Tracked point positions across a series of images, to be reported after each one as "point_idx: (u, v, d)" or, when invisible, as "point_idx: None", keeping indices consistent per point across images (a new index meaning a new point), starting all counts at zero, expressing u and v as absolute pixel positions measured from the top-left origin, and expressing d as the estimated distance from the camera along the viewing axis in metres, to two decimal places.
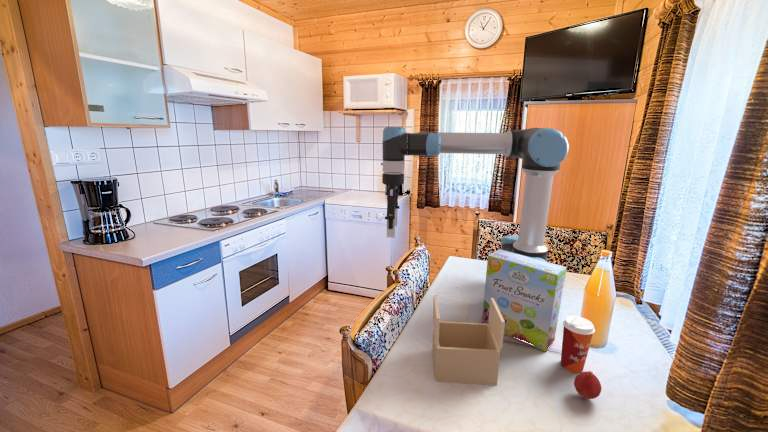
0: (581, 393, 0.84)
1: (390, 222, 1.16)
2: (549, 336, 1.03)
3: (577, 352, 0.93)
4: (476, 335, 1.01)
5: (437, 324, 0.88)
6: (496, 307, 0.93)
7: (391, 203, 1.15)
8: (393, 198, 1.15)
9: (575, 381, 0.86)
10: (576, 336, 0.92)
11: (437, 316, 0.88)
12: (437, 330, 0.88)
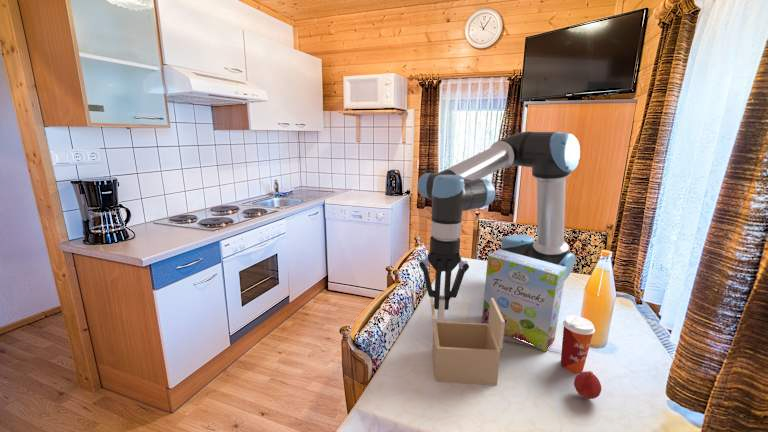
0: (581, 393, 0.84)
1: (434, 300, 0.93)
2: (549, 336, 1.03)
3: (577, 352, 0.93)
4: (476, 335, 1.01)
5: (434, 324, 0.88)
6: (496, 307, 0.93)
7: None
8: (423, 272, 0.90)
9: (575, 381, 0.86)
10: (576, 336, 0.92)
11: (433, 316, 0.88)
12: (435, 330, 0.88)
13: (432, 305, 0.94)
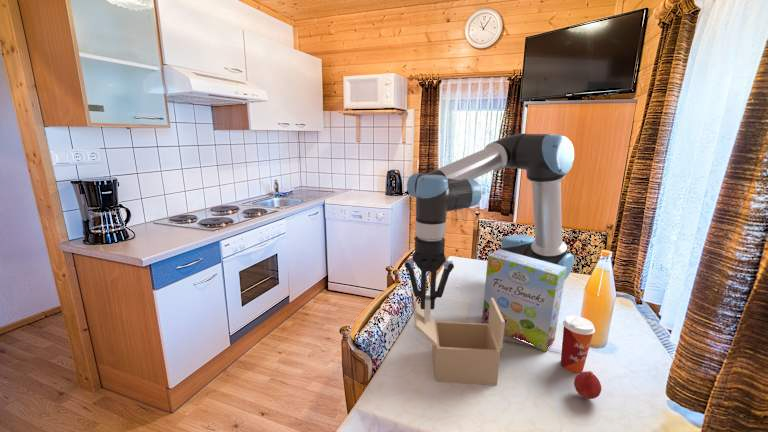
0: (581, 393, 0.84)
1: (420, 300, 0.93)
2: (549, 336, 1.03)
3: (577, 352, 0.93)
4: (476, 335, 1.01)
5: (419, 330, 0.89)
6: (496, 307, 0.93)
7: None
8: None
9: (575, 381, 0.86)
10: (576, 336, 0.92)
11: (414, 324, 0.89)
12: (424, 334, 0.89)
13: (415, 312, 0.95)
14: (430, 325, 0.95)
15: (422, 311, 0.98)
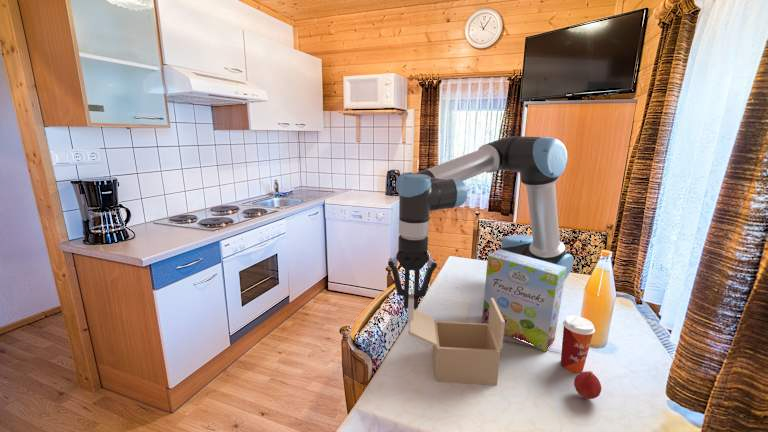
0: (581, 393, 0.84)
1: (404, 298, 0.93)
2: (549, 336, 1.03)
3: (577, 352, 0.93)
4: (476, 335, 1.01)
5: (415, 336, 0.89)
6: (496, 307, 0.93)
7: None
8: (392, 271, 0.91)
9: (575, 381, 0.86)
10: (576, 336, 0.92)
11: (409, 331, 0.90)
12: (421, 338, 0.89)
13: None
14: (428, 327, 0.95)
15: (418, 315, 0.99)
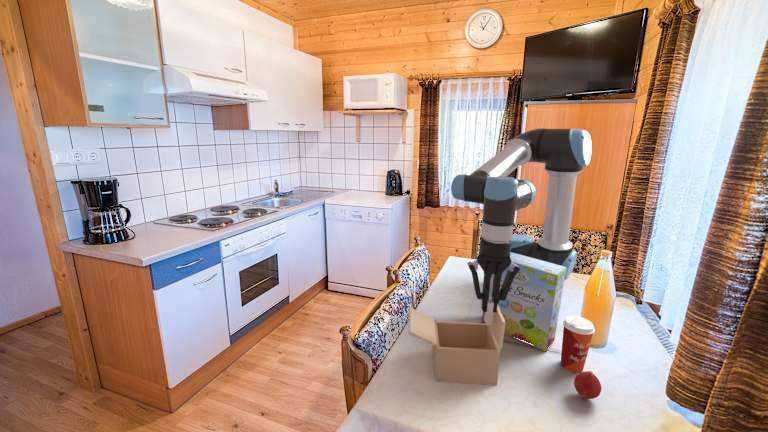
0: (581, 393, 0.84)
1: (482, 302, 0.92)
2: (549, 336, 1.03)
3: (577, 352, 0.93)
4: (476, 335, 1.01)
5: (415, 336, 0.89)
6: (497, 307, 0.93)
7: (473, 279, 0.91)
8: (472, 275, 0.89)
9: (575, 381, 0.86)
10: (576, 336, 0.92)
11: (409, 331, 0.90)
12: (421, 338, 0.89)
13: (409, 319, 0.95)
14: (428, 327, 0.95)
15: (418, 315, 0.99)
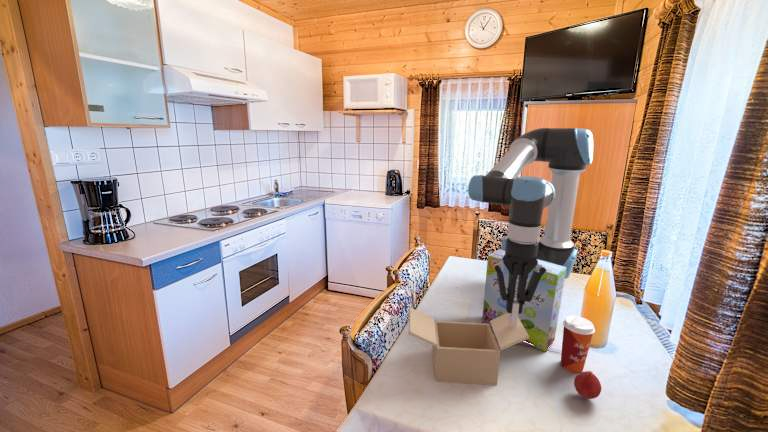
0: (581, 393, 0.84)
1: (507, 303, 0.92)
2: (549, 336, 1.03)
3: (577, 352, 0.93)
4: (476, 335, 1.01)
5: (415, 336, 0.89)
6: (520, 321, 0.93)
7: (498, 280, 0.90)
8: (498, 276, 0.89)
9: (575, 381, 0.86)
10: (576, 336, 0.92)
11: (409, 331, 0.90)
12: (421, 338, 0.89)
13: (409, 319, 0.95)
14: (428, 327, 0.95)
15: (418, 315, 0.99)
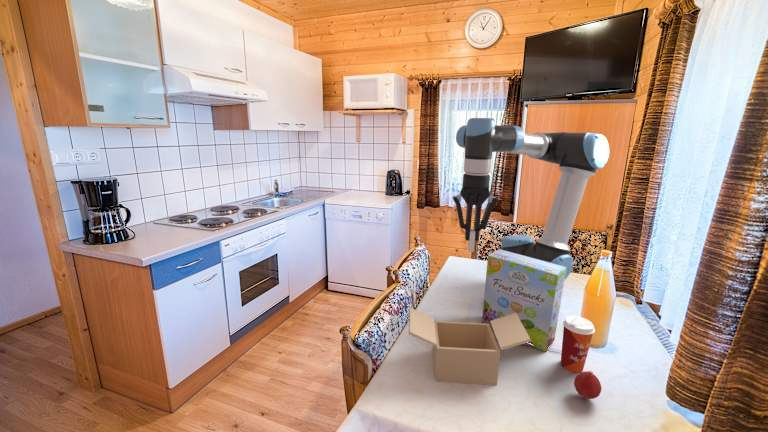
0: (581, 393, 0.84)
1: (465, 232, 1.05)
2: (549, 336, 1.03)
3: (577, 352, 0.93)
4: (476, 335, 1.01)
5: (415, 336, 0.89)
6: None
7: (457, 211, 1.03)
8: (456, 206, 1.02)
9: (575, 381, 0.86)
10: (576, 336, 0.92)
11: (409, 331, 0.90)
12: (421, 338, 0.89)
13: (409, 319, 0.95)
14: (428, 327, 0.95)
15: (418, 315, 0.99)
